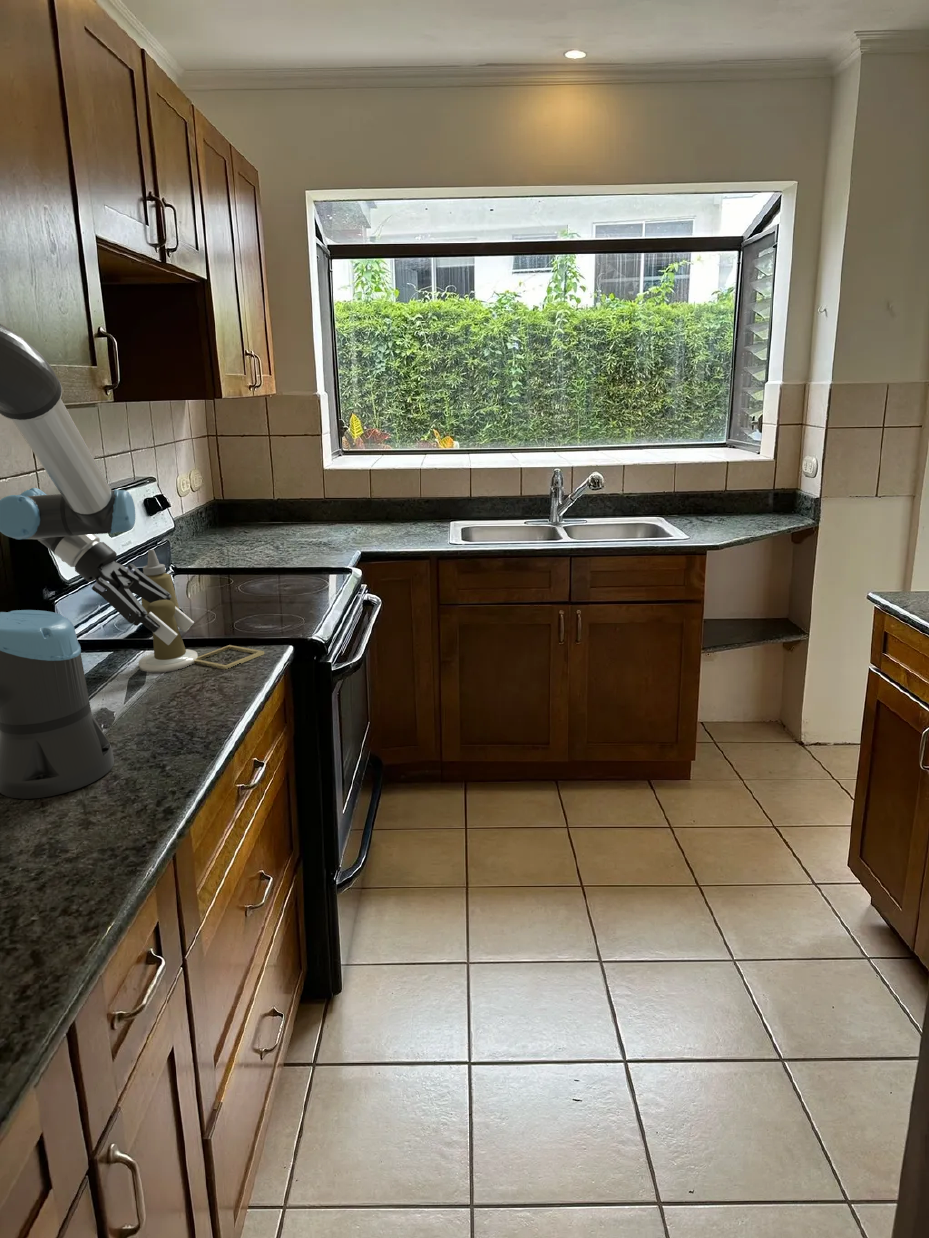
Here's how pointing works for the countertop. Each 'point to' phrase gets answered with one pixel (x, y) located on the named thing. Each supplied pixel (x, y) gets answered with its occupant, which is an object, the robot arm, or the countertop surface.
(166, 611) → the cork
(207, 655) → the square frame
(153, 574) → the squeeze bottle
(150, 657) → the saucer
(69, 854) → the countertop surface
